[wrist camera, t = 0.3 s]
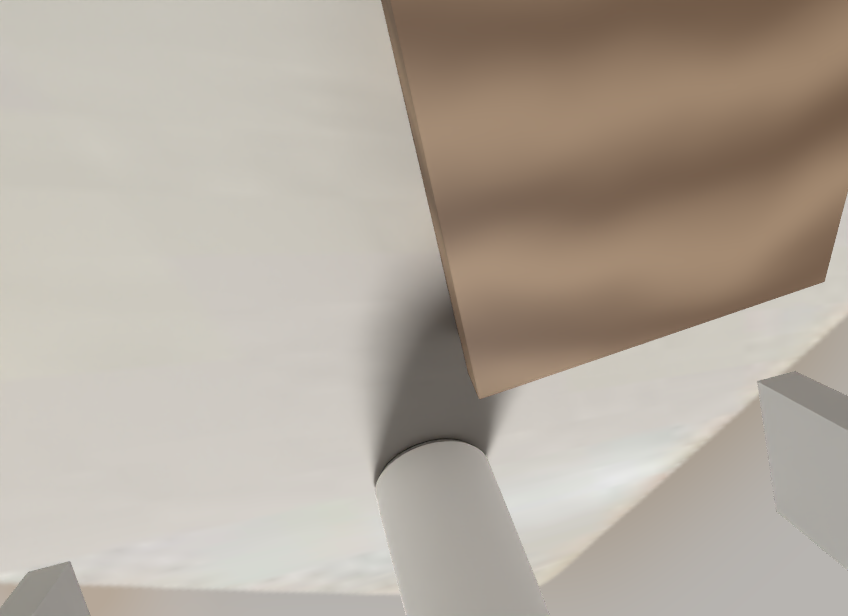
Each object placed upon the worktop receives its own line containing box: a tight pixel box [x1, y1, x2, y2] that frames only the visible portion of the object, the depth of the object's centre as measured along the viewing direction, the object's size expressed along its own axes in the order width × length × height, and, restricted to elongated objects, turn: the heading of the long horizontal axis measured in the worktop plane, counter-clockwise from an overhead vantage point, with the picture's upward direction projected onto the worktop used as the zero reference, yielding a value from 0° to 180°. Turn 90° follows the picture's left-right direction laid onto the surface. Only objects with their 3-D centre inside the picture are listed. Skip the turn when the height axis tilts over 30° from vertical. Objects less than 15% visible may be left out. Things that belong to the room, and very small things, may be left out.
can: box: [375, 439, 550, 616], centre depth 37 cm, size 6×6×12 cm
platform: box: [381, 0, 848, 399], centre depth 27 cm, size 18×16×4 cm
